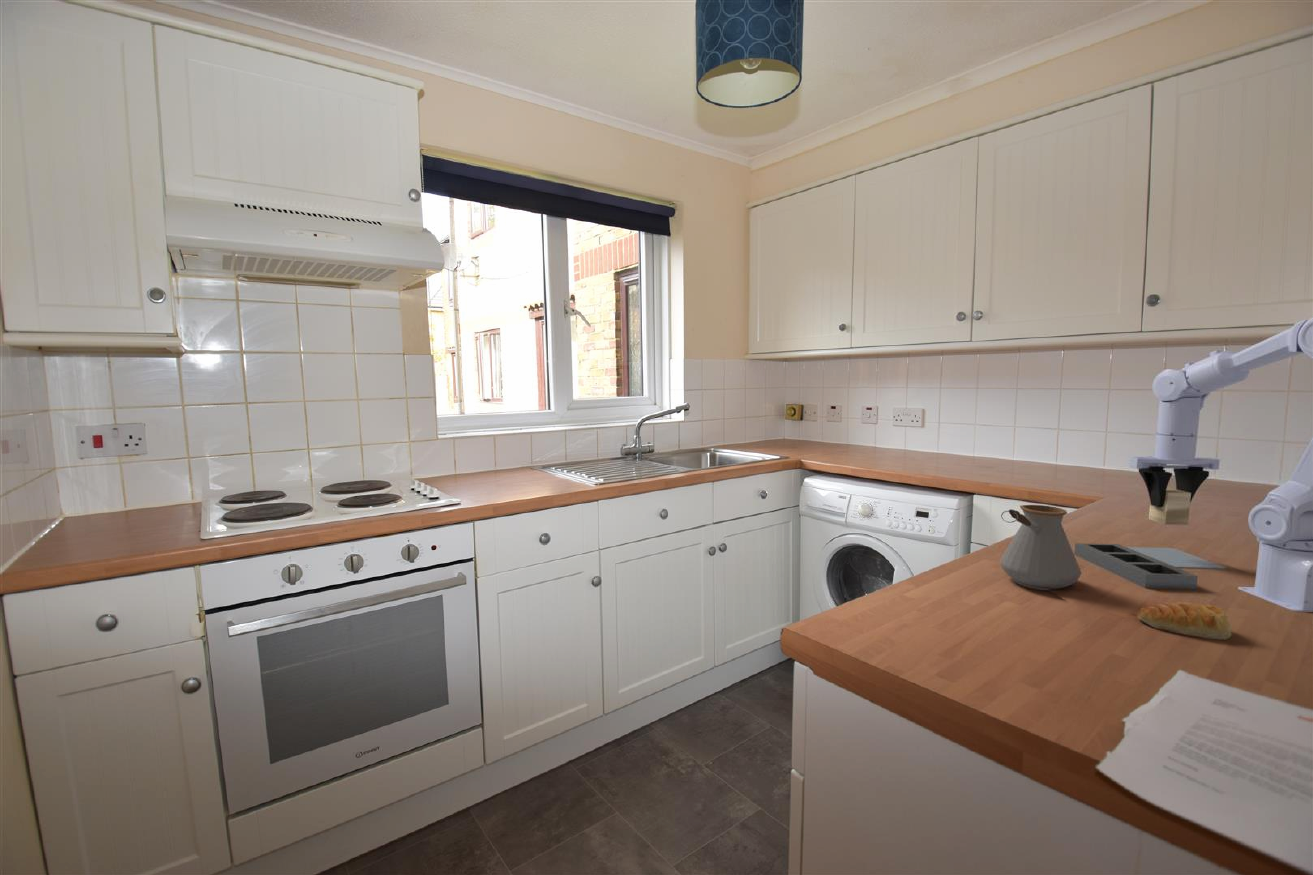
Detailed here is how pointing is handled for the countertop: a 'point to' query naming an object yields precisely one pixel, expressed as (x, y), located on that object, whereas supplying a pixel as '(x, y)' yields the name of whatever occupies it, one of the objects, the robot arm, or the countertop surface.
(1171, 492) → the peg
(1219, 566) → the mat
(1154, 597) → the countertop surface
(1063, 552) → the coffee pot
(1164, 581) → the tray
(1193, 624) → the pastry
